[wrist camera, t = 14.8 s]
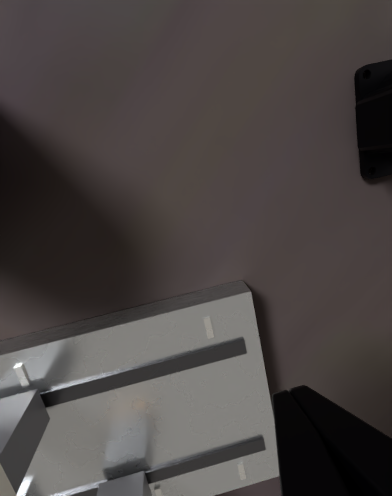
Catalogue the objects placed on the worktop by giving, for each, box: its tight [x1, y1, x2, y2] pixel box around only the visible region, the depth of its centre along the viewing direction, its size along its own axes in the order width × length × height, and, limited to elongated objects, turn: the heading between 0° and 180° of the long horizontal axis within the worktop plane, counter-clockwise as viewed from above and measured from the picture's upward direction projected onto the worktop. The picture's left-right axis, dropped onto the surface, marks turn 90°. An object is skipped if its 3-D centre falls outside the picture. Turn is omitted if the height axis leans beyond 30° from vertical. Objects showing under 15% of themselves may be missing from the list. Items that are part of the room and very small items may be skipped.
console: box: [0, 280, 279, 496], centre depth 20 cm, size 20×15×3 cm
